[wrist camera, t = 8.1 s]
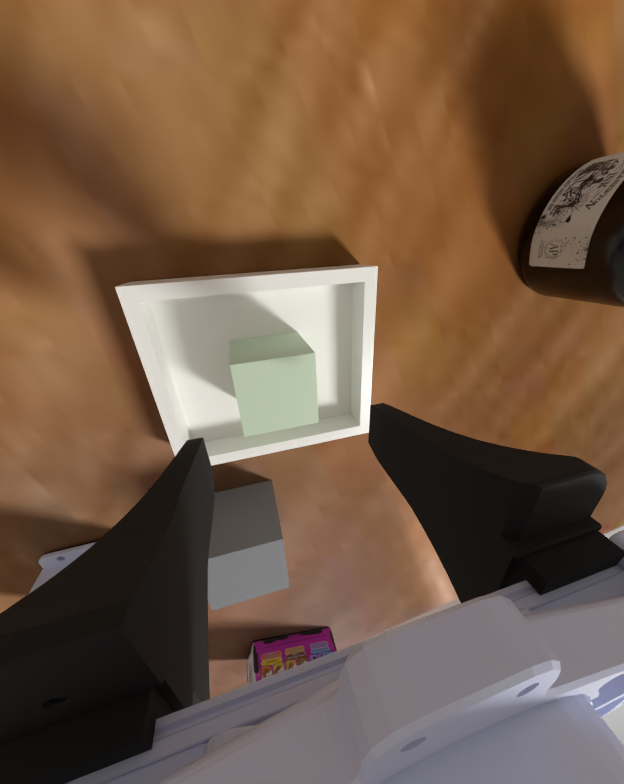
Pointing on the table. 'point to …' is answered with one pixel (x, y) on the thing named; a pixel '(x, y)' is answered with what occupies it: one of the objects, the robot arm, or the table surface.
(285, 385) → the sage block
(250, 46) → the table surface
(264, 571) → the gray block
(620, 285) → the ink bottle
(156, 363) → the tray
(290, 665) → the candy bar box
